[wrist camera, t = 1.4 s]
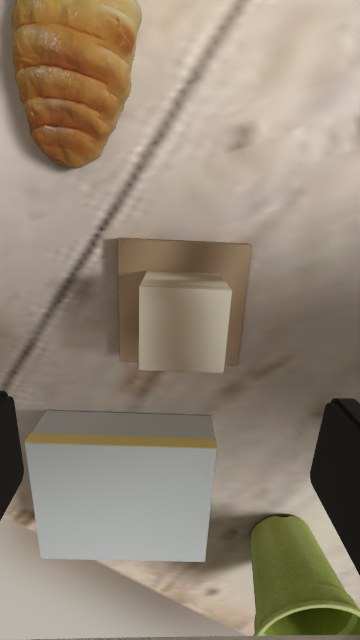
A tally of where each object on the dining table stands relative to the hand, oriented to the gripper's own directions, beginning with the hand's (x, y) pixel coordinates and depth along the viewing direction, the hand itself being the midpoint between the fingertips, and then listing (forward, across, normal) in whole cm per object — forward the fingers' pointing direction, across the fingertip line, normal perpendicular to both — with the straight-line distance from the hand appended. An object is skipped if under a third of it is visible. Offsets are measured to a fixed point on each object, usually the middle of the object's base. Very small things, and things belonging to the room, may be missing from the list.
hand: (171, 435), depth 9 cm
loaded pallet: (+15, -1, 0) cm, 15 cm away
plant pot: (+15, -12, +24) cm, 31 cm away
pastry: (+16, +6, -14) cm, 22 cm away
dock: (+15, +3, +16) cm, 22 cm away
